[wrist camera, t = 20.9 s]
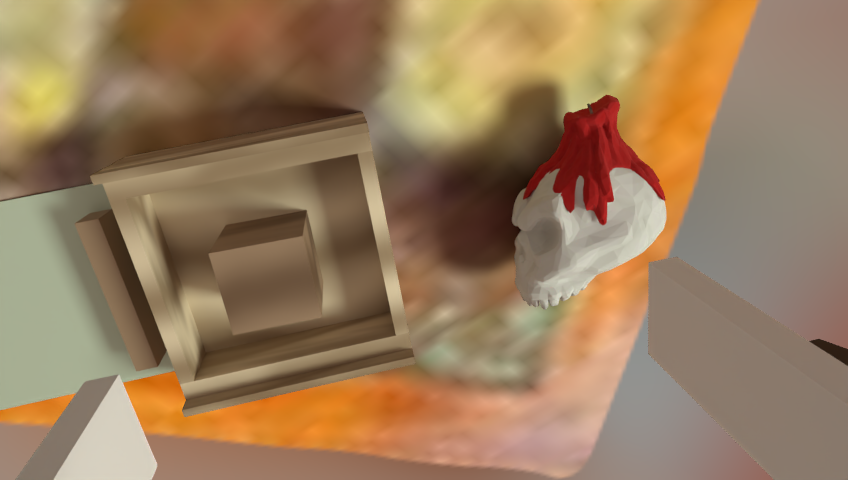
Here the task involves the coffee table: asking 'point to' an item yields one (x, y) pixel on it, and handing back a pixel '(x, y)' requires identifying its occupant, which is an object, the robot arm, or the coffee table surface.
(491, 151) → the coffee table surface
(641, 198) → the candle
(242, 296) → the walnut block
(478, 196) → the coffee table surface
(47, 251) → the lid
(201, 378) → the box
